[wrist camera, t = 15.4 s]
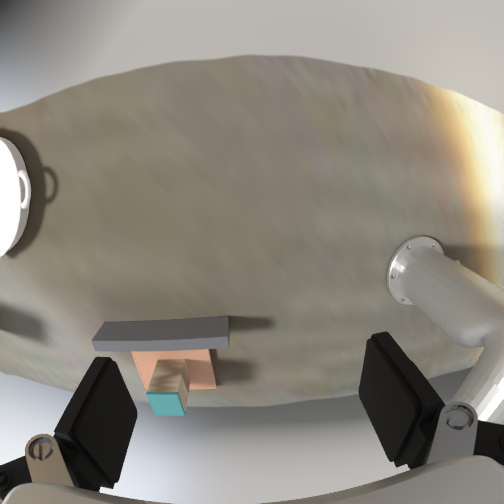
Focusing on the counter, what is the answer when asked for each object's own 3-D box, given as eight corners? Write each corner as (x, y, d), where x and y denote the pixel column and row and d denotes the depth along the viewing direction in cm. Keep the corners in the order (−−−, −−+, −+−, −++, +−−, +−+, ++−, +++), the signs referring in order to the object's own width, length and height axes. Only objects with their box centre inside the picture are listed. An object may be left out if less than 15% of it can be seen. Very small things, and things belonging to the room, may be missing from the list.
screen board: (228, 315, 46) (227, 336, 41) (229, 326, 47) (229, 347, 41) (104, 322, 46) (91, 340, 40) (107, 331, 46) (95, 350, 41)
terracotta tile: (208, 342, 48) (207, 346, 47) (216, 384, 51) (216, 388, 50) (131, 345, 47) (130, 348, 46) (146, 386, 50) (145, 389, 49)
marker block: (184, 358, 47) (177, 394, 39) (190, 379, 49) (184, 415, 40) (157, 359, 47) (146, 394, 39) (164, 380, 49) (155, 415, 40)
